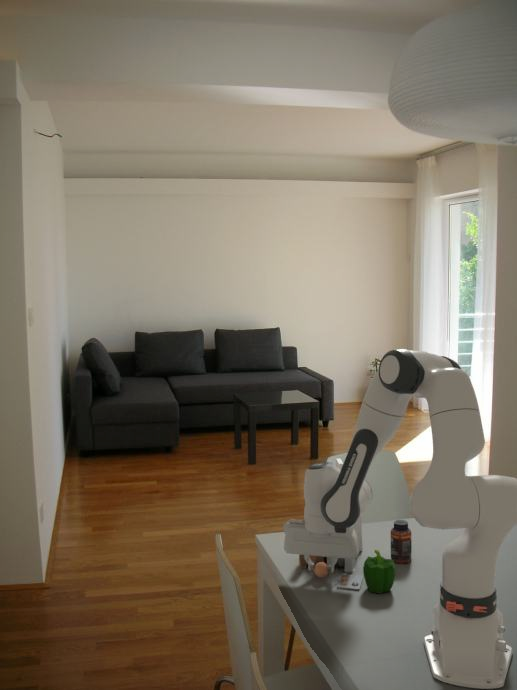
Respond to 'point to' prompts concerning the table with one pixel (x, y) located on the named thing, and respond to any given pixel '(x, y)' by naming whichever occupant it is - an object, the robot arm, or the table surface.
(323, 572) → the loose ball
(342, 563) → the tube ball charcoal
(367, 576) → the bell pepper
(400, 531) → the supplement bottle
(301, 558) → the walnut tube
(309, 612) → the table surface
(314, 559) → the tube ball terracotta
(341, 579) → the card
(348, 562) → the grey tube
